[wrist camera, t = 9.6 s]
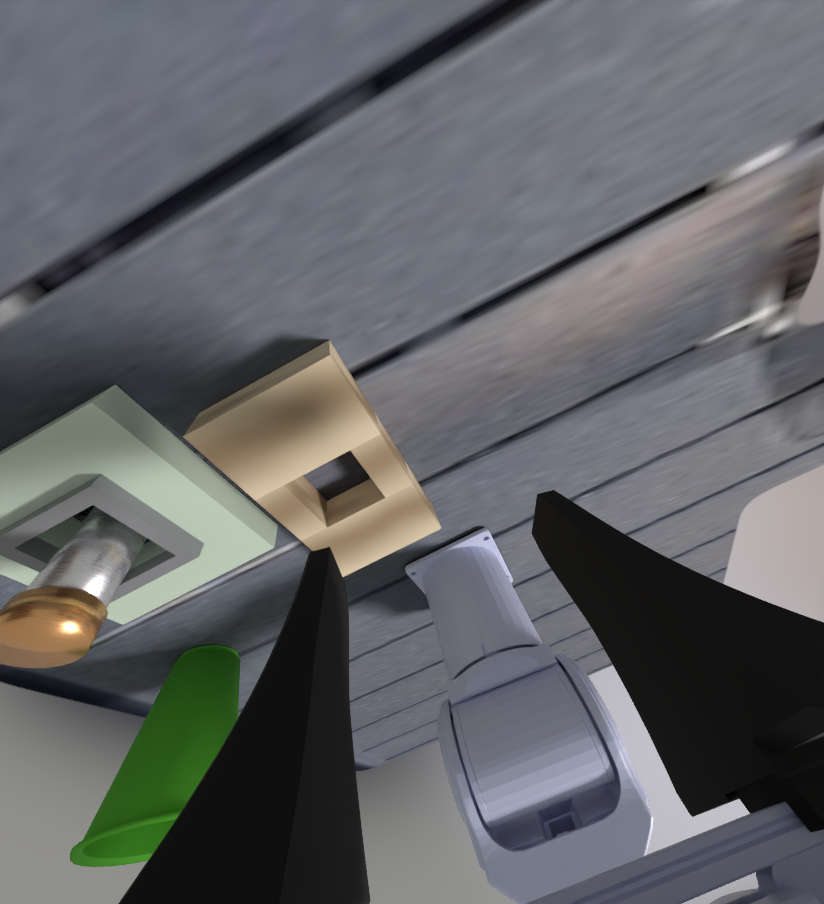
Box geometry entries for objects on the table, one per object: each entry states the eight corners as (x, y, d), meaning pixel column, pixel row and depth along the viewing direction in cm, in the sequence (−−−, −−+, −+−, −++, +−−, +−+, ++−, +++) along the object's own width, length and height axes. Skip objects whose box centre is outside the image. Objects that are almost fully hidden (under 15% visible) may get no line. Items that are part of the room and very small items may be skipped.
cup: (222, 689, 33) (184, 858, 24) (126, 671, 28) (34, 875, 19) (283, 648, 31) (267, 813, 22) (192, 620, 26) (124, 819, 17)
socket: (277, 525, 23) (272, 560, 20) (137, 598, 24) (115, 639, 21) (115, 384, 16) (77, 412, 13) (-76, 496, 17) (-145, 541, 14)
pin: (177, 513, 20) (109, 643, 14) (133, 537, 21) (46, 676, 14) (127, 478, 18) (20, 611, 12) (79, 505, 19) (-50, 649, 12)
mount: (431, 504, 25) (441, 528, 23) (341, 549, 25) (342, 577, 23) (329, 339, 17) (330, 354, 15) (199, 412, 17) (182, 436, 15)
